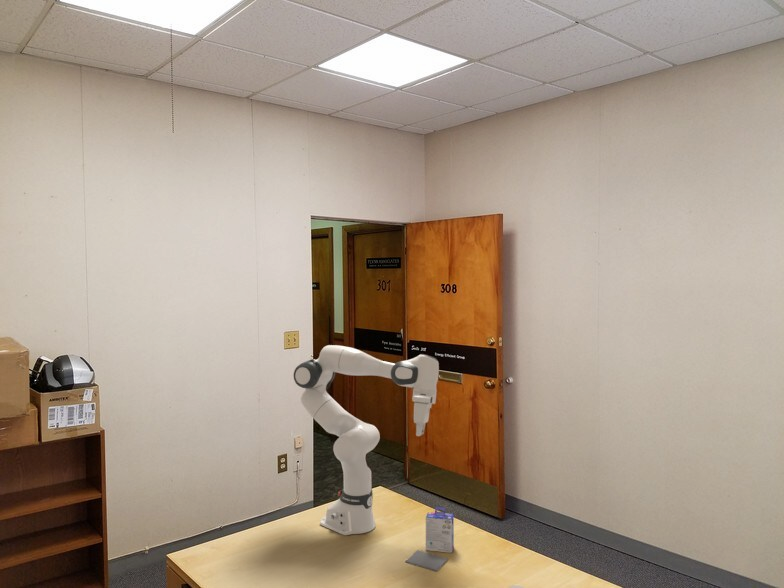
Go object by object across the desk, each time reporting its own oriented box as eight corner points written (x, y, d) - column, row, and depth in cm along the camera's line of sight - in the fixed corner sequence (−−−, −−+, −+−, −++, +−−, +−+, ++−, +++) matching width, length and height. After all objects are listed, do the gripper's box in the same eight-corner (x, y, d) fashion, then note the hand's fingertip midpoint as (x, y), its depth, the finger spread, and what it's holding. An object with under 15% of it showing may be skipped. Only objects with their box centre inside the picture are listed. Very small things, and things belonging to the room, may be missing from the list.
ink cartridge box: (454, 546, 203) (454, 507, 202) (452, 553, 197) (452, 513, 197) (427, 543, 205) (427, 505, 204) (425, 550, 199) (425, 511, 199)
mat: (405, 562, 191) (405, 560, 191) (417, 551, 199) (417, 549, 199) (436, 571, 185) (436, 570, 185) (448, 559, 193) (448, 558, 193)
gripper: (418, 397, 219) (414, 432, 216) (412, 396, 199) (408, 435, 197) (434, 399, 218) (430, 434, 215) (430, 398, 198) (425, 438, 195)
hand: (419, 435), depth 206 cm, fingers open, 8 cm apart
